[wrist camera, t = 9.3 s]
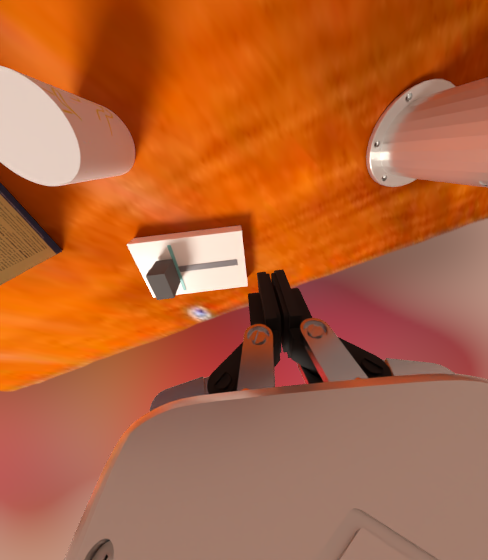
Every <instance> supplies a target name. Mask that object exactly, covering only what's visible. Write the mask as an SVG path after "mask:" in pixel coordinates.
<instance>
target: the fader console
mask: <svg viewBox="0 0 488 560" xmlns="http://www.w3.org/2000/svg"><path fill="white" fill-rule="evenodd" d="M127 246H128V248H129V250H130V252H131V254H132V256H133V258H134V260H135V262H136V264H137V266H138V268H139V270H140V272H141V274H142V276H143V278H144V280H145V282H146V284H147V286H148V288H149V290H150V292H151V294H152V296H153V297H156V296H155V294H154V292H153V290H152V288H151V286H150V284H149V282H148V280H147V278H146V275H147V273H148V272H149V270H150V269H151V267H152V266H153V265H154V263H155V262H156V261H160V260H168V259H173V262H174V265H175V267H176V270H177V273H178V276H179V278H180V281H181V282H180V284H179V287H178V290H177V292H176V295H178V294H187V293H195V292H203V291H211V290H220V289H228V288H236V287H245V286H248V284H247V274H246V265H245V256H244V246H243V237H242V229H241V225H238V226H230V227H222V228H213V229H205V230H197V231H189V232H180V233H172V234H164V235H155V236H147V237H139V238H134V239H132V240H131V241H130V242H129V243H128V244H127Z"/></svg>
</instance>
